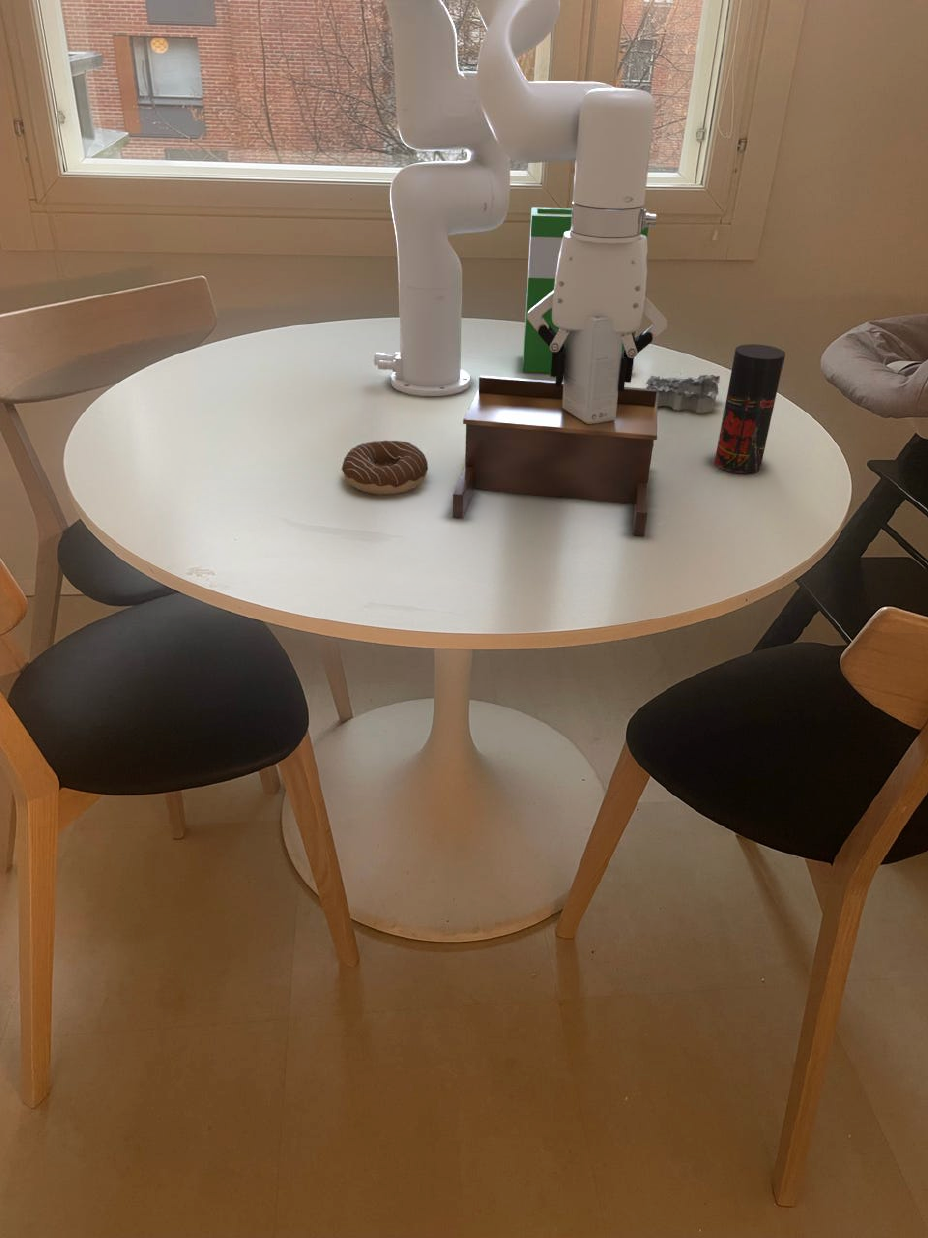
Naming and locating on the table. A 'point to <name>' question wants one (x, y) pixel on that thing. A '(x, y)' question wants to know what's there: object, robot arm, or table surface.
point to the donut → (385, 467)
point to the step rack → (556, 446)
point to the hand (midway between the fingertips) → (590, 384)
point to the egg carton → (686, 392)
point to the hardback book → (544, 279)
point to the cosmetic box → (592, 371)
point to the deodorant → (749, 408)
